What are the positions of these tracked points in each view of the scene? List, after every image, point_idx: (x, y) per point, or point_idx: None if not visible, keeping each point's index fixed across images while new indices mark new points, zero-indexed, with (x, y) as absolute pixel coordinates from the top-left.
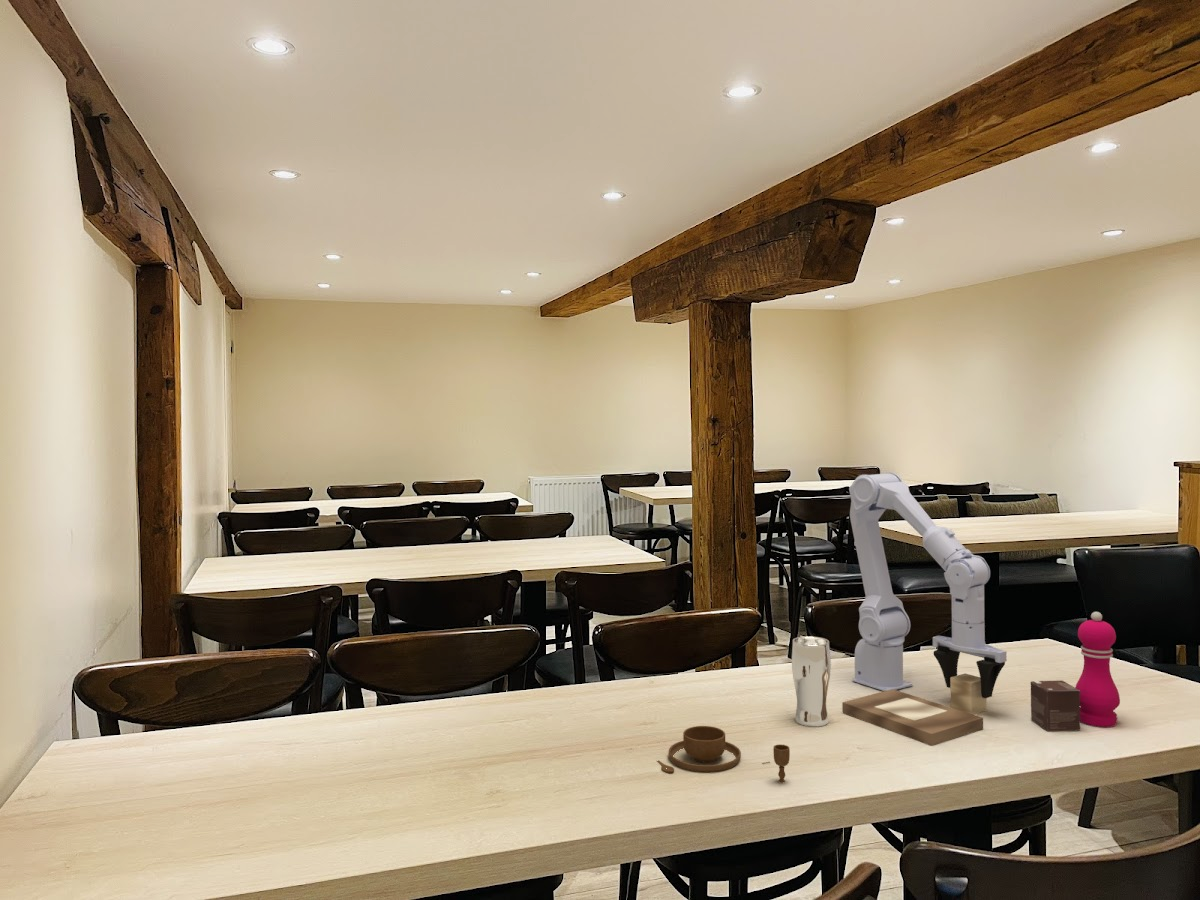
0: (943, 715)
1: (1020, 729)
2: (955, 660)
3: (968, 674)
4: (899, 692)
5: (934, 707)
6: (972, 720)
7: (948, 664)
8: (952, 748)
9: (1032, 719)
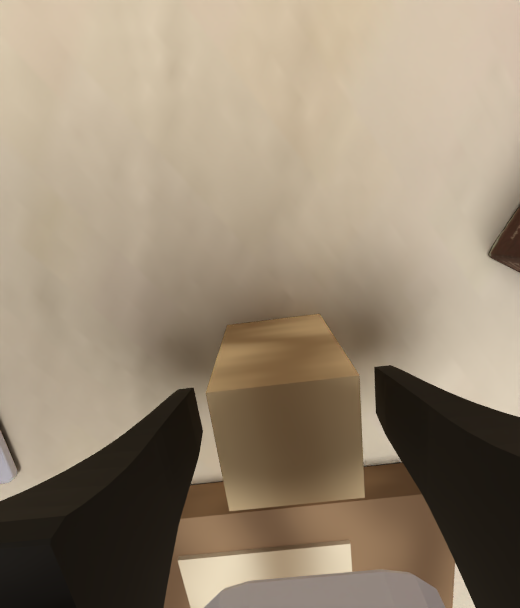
0: (366, 568)
1: (512, 366)
2: (134, 496)
3: (231, 392)
4: None
5: (302, 554)
6: None
7: (161, 546)
8: (471, 605)
9: (505, 264)
